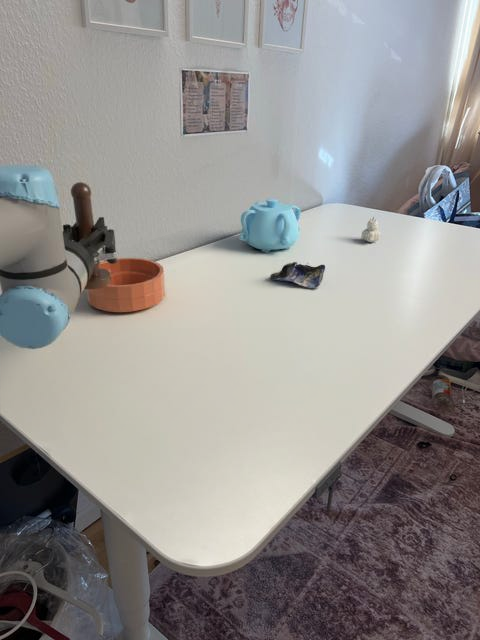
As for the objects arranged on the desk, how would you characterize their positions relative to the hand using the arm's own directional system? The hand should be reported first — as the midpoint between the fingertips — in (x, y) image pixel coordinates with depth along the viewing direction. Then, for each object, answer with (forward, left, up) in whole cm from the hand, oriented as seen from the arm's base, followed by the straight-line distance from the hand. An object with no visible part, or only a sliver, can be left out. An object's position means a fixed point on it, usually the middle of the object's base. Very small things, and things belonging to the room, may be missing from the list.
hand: (92, 224), depth 87 cm
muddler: (+1, -5, -9) cm, 11 cm away
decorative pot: (+30, +54, -20) cm, 64 cm away
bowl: (+1, +12, -20) cm, 23 cm away
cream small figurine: (+60, +63, -20) cm, 89 cm away
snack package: (+38, +28, -20) cm, 51 cm away
